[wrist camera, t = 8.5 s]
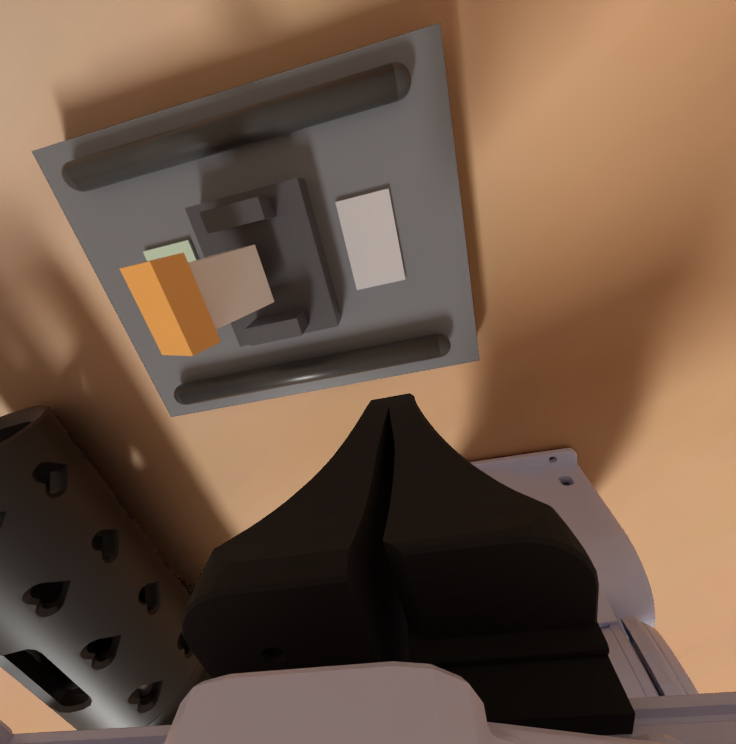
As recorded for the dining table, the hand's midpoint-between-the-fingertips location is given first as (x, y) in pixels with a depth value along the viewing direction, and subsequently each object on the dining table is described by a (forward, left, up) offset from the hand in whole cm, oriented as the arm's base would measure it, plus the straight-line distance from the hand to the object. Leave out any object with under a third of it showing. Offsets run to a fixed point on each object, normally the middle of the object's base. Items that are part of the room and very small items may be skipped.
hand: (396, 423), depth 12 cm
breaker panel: (+5, -5, -10) cm, 12 cm away
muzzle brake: (+23, +14, -11) cm, 29 cm away
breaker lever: (+5, -5, -6) cm, 9 cm away
